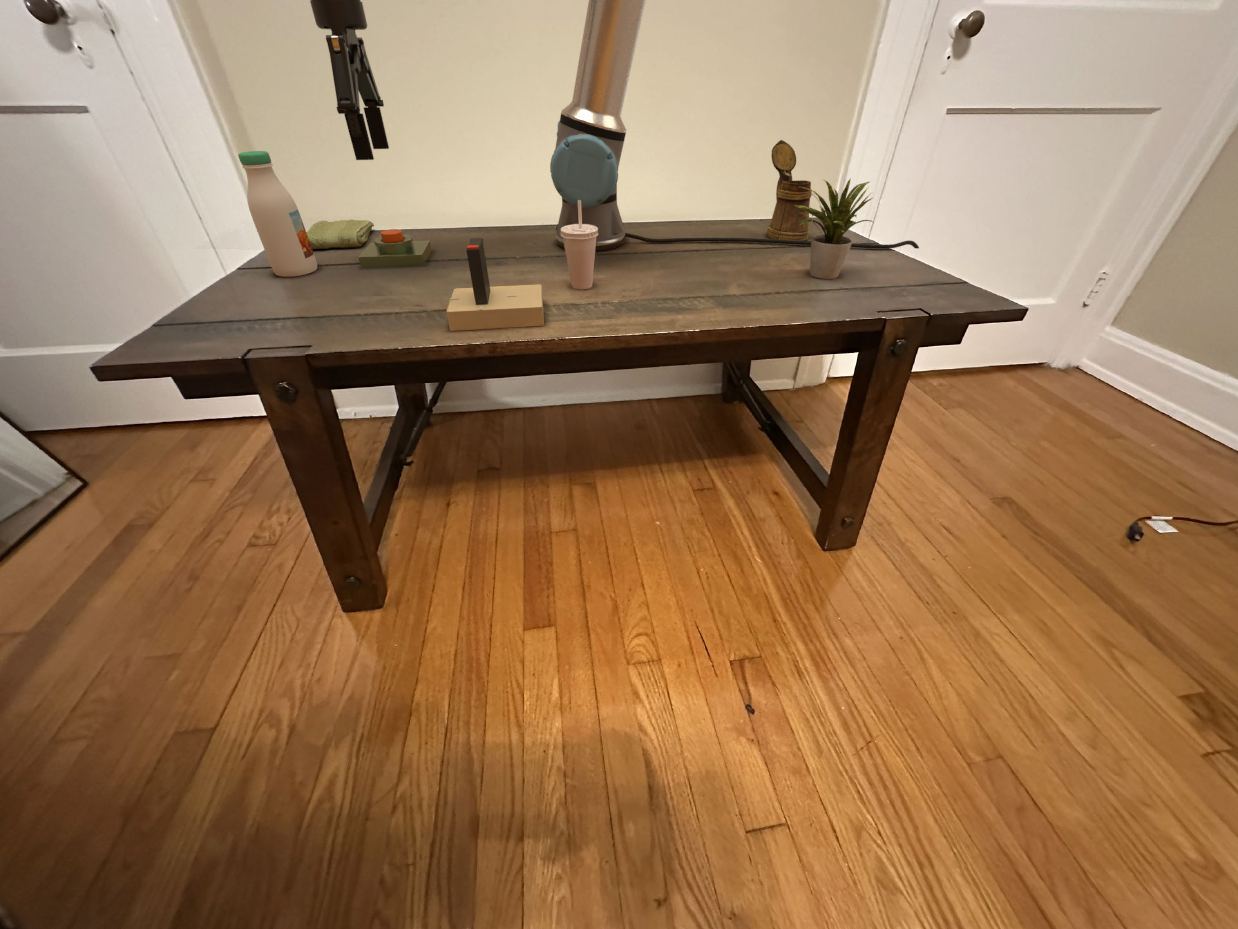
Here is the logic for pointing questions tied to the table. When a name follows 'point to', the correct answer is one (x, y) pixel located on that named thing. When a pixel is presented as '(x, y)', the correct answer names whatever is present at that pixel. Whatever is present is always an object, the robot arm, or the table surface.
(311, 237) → the washcloth
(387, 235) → the button
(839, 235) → the house plant
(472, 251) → the black rectangular block
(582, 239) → the smoothie
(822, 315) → the table surface
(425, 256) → the switch block
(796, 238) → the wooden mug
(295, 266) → the milk bottle
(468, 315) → the tan wooden block
